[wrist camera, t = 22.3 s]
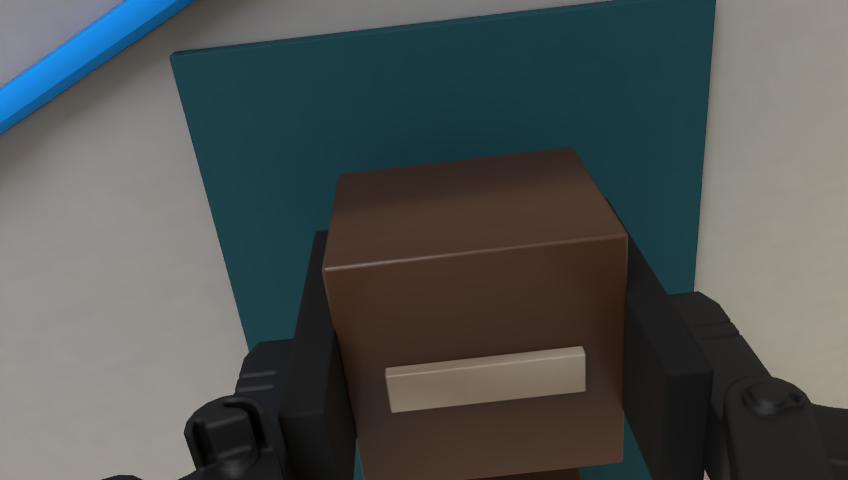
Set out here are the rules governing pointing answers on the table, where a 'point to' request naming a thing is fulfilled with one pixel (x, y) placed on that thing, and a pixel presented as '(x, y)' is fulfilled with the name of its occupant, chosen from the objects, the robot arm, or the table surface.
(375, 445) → the tile
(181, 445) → the table surface
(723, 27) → the table surface
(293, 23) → the table surface
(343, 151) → the mat
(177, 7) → the pen
